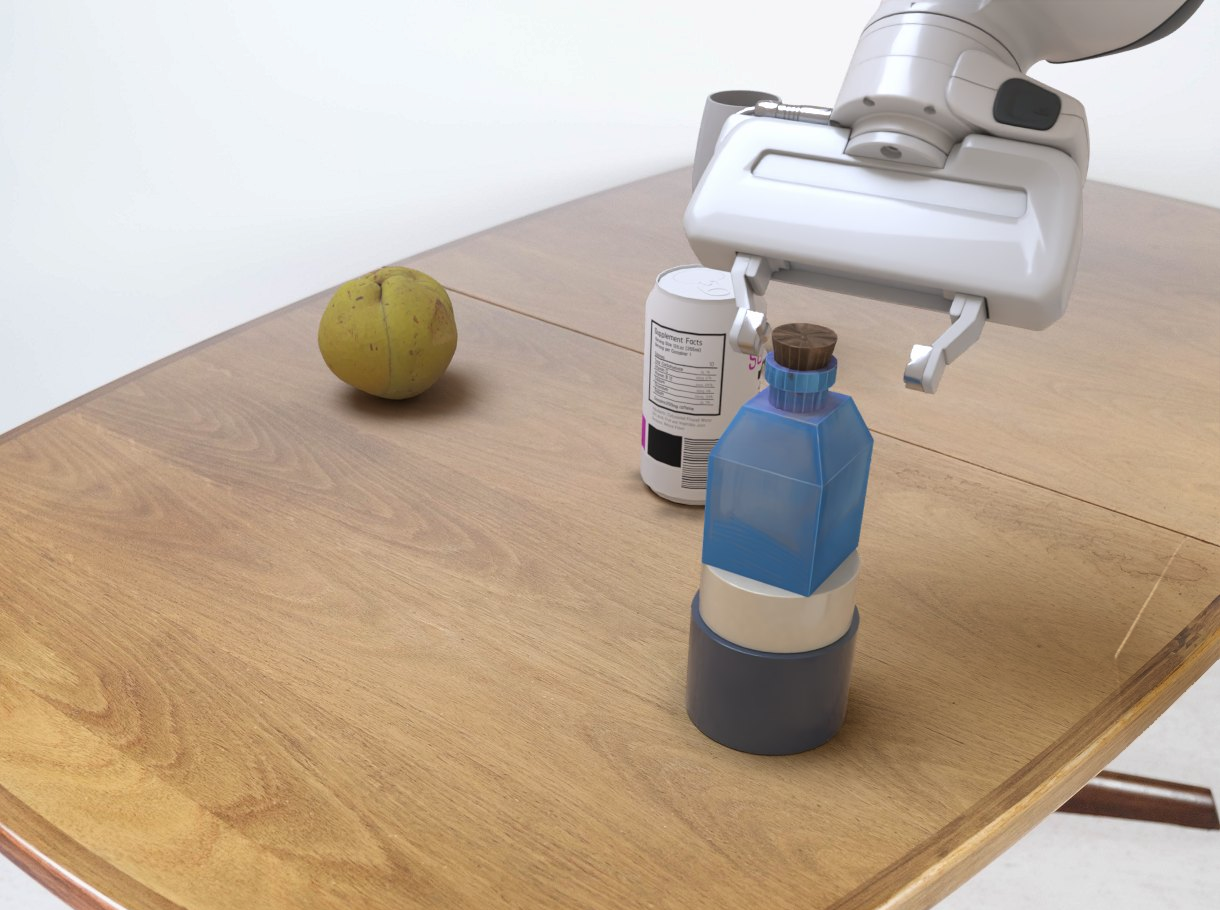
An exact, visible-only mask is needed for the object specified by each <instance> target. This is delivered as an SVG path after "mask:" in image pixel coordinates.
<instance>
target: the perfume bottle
mask: <svg viewBox="0 0 1220 910" xmlns="http://www.w3.org/2000/svg"><path fill="white" fill-rule="evenodd" d="M770 335H771V343H772V350H771V351H769V352H767V356H766V360H765V365H764V380H765V381H766V383H767V384H768V385H767V386H766V387H765V388H763V389H762V390H760V393H758V394H757V395H756V396H754V397H753V398H752V399H750V400H749V401H748V402H746V403H745V404H744V405H742V407H741V408H740V410H739V411H738V413H737V414H736V416H735V417H734V418H733V420H732V421H731V423H730V424H729V426H728V427H727V429H726V430H725V432H724V433H723V434H722V436H721V437H720V439H719V440H718V442H717V443H716V445H715V446H714V448H713V449H712V450H711V452H710V453H709V457H708V472H707V487H706V502H705V505H704V519H703V531H702V532H703V533H702V546H701V547H702V548H701V551H702V552H701V561H702V562H701V563H704V564H707V565H710V566H713V567H716V568H719V569H723V570H726V571H729V572H732V573H735V574H738V575H741V576H744V577H747V578H750V579H753V580H756V581H759V582H762V583H766V584H769V585H772V586H775V587H778V588H781V589H784V590H787V591H790V592H793V593H796V594H799V595H802V596H805V597H810V596H811V595H812V594H813V593H814V591H815V590H816V589H817V588H818V587H819V586H820V585H821V584H822V583H823V582H824V581H825V580H826V579H827V578H828V577H829V576H830V575H831V574H832V573H833V572H834V571H835V570H836V569H837V568H838V567H839V566H840V565H841V563H842V562H843V561H844V560H845V559H846V558H847V557H848V556H849V555H850V554H851V553H852V552H853V551H854V550H855V549H858V547H859V543H860V537H861V531H862V530H861V529H862V524H863V518H864V517H863V516H864V510H865V505H866V496H867V491H868V490H867V489H868V484H869V477H870V476H869V475H870V469H871V463H872V457H873V450H874V449H873V448H874V442H875V439H874V437H873V435H872V432H871V431H870V430H869V428H868V425H867V423H866V422H865V419H864V418H863V416H862V414H861V412H860V410H859V408H858V406H857V404H856V403H855V401H854V399H853V397H852V396H851V395H848V394H844V393H840V392H836V391H832V390H829V389H830V388H832V387H833V386H834V385H835V383H836V379H837V372H838V365H839V364H838V359H837V357H835V355H833V353H834V351H835V349H836V345H837V342H838V334H837V333H836V332H835V331H834V330H832V329H831V328H829V327H826V326H824V325H820V324H816V323H810V322H791V323H785V324H781V325H778V326H776V327H774V328H773V329H772V330H771V333H770ZM701 563H700V564H701Z"/></svg>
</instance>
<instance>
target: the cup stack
mask: <svg viewBox="0 0 1220 910" xmlns="http://www.w3.org/2000/svg"><path fill="white" fill-rule="evenodd" d="M701 562H702V560H701ZM861 566H862V561H861V556H860V553H859V551H858V548H856V549H855V550H854V551H853V552H852V553H851V554H850V555H849V556H848V557H847V558H846V559H845V560H844V561H843V562H842V563H841V565H840V566H839V567H838V568H837V569H836V570H835V571H834V572H833V573H832V574H831V575H830V576H829V577H828V578H827V579H826V580H825V581H824V582H823V583H822V584H821V585H820V586H819V587H818V588H817V589H816V590H815V591H814V593H813V594H812V595H811V596H810V597H805V596H802V595H799V594H796V593H793V592H790V591H787V590H784V589H781V588H778V587H775V586H772V585H769V584H766V583H762V582H759V581H756V580H753V579H750V578H747V577H744V576H741V575H738V574H735V573H732V572H729V571H726V570H723V569H719V568H716V567H713V566H710V565H707V564H704V563H700V575H699V576H700V577H699V588H698V590H697V591H696V592H695V594H694V596H693V597H692V600H691V605H690V617H689V618H690V619H689V634H688V635H689V637H688V651H687V666H686V668H687V669H686V680H685V681H686V682H685V685H686V686H685V699H684V700H685V701H684V705H685V709H686V713H687V715H688V717H689V719H690V721H691V722H692V723H693V725H694V726H695V727H696V728H697V729H698V730H699V731H700V732H701V733H703V734H704V735H705V736H707V737H708V738H709V739H710V740H712V741H715V742H717V743H718V744H720V745H723V746H726V747H727V748H730V749H733V750H736V751H739V752H743V753H749V754H753V755H762V756H787V755H795V754H799V753H803V752H807V751H810V750H813V749H816V748H818V747H820V746H822V745H824V744H826V743H827V742H829V741H831V739H832V738H834V737H835V736H836V735H837V734H838V732H840V730H841V729H842V727H843V724H844V722H845V718H846V715H847V714H846V713H847V707H848V701H849V696H850V695H849V694H850V688H851V683H852V682H851V681H852V676H853V669H854V663H855V656H856V650H857V644H858V643H857V642H858V637H859V636H858V635H859V630H860V624H861V616H860V611H859V608H858V606H857V604H856V600H857V599H856V598H857V594H858V586H859V580H860V573H861Z"/></svg>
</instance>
